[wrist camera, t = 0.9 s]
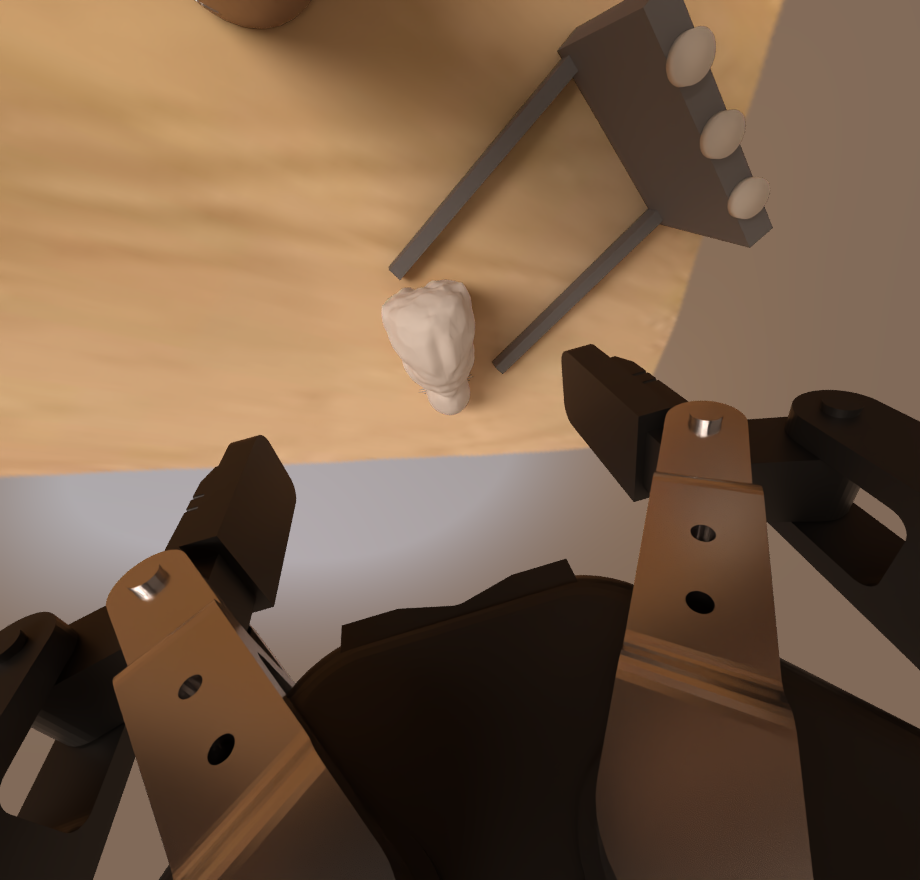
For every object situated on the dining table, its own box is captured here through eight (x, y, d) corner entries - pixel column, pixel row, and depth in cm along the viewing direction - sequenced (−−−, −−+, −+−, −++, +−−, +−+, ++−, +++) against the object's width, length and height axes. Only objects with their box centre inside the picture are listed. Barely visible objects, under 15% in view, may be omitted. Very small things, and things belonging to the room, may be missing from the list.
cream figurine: (478, 294, 25) (503, 436, 33) (451, 251, 31) (478, 379, 39) (377, 323, 25) (428, 459, 33) (371, 274, 31) (415, 398, 39)
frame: (579, 23, 25) (686, -39, 17) (675, 205, 33) (784, 226, 24) (383, 261, 31) (390, 305, 23) (502, 371, 38) (541, 435, 30)
